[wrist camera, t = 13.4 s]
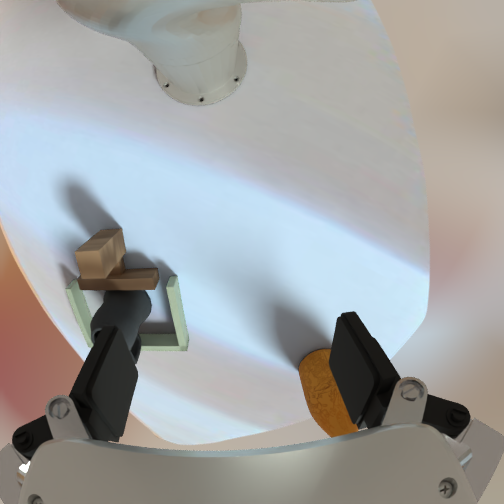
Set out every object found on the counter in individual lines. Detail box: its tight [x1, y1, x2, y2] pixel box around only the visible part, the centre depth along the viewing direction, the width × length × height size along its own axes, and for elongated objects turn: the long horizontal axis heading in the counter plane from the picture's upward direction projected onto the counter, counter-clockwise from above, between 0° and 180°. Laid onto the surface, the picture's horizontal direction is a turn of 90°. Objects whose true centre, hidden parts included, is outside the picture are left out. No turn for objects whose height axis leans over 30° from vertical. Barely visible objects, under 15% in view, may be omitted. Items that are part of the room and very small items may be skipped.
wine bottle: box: [299, 349, 358, 438], centre depth 40 cm, size 10×10×30 cm
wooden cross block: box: [75, 228, 159, 290], centre depth 36 cm, size 9×14×9 cm, turn 91°
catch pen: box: [66, 276, 189, 351], centre depth 43 cm, size 13×20×4 cm, turn 91°
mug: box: [90, 290, 152, 364], centre depth 39 cm, size 12×9×11 cm
